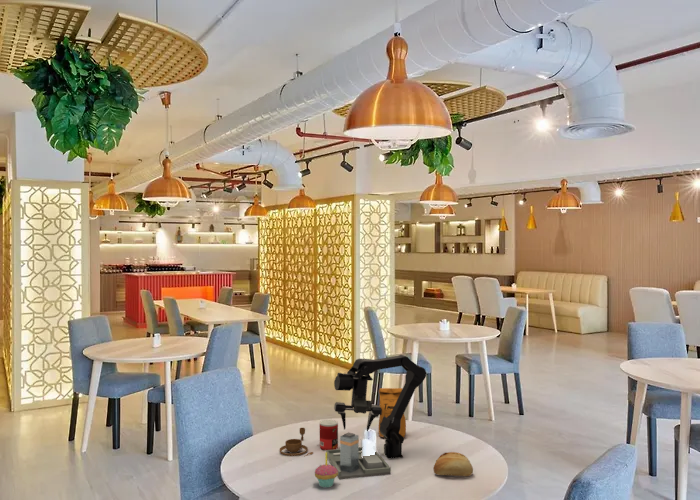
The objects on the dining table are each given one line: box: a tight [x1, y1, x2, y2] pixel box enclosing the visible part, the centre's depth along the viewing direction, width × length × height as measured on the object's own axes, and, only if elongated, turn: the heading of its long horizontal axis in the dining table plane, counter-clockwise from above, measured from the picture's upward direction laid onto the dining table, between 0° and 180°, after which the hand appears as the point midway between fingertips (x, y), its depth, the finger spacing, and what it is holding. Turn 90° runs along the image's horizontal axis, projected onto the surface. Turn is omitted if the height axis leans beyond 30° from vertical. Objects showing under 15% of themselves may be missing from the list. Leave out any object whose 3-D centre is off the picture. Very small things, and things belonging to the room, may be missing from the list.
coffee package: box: [378, 387, 407, 438], centre depth 270 cm, size 10×12×22 cm
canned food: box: [319, 419, 339, 451], centre depth 255 cm, size 8×8×11 cm
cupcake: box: [314, 450, 338, 488], centre depth 216 cm, size 9×8×12 cm
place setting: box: [278, 427, 314, 457], centre depth 254 cm, size 18×20×6 cm
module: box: [339, 432, 360, 473], centre depth 228 cm, size 5×5×14 cm
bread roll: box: [433, 451, 474, 477], centre depth 226 cm, size 10×15×8 cm, turn 91°
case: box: [325, 446, 392, 480], centre depth 236 cm, size 20×26×4 cm
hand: (355, 430), depth 238 cm, fingers open, 9 cm apart
